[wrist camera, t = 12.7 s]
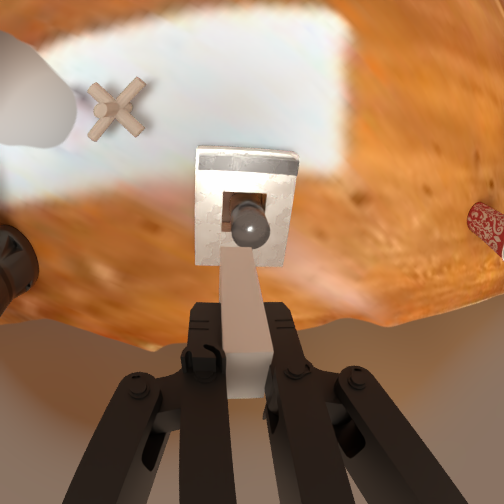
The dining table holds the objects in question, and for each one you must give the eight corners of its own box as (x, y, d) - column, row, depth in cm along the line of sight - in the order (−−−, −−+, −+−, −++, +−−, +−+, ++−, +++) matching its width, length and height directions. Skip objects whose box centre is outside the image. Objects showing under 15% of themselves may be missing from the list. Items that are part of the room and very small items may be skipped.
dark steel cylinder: (228, 218, 44) (230, 249, 36) (230, 189, 42) (232, 213, 33) (258, 219, 45) (268, 250, 36) (261, 190, 43) (272, 215, 34)
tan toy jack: (173, 104, 35) (158, 104, 26) (127, 153, 37) (102, 168, 29) (129, 63, 30) (102, 53, 22) (85, 113, 33) (52, 119, 24)
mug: (460, 235, 51) (497, 265, 40) (468, 199, 47) (509, 225, 35) (489, 230, 52) (523, 256, 40) (496, 197, 47) (533, 220, 36)
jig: (196, 254, 47) (194, 272, 42) (198, 145, 38) (195, 151, 33) (278, 256, 49) (285, 273, 44) (293, 151, 40) (303, 158, 35)
